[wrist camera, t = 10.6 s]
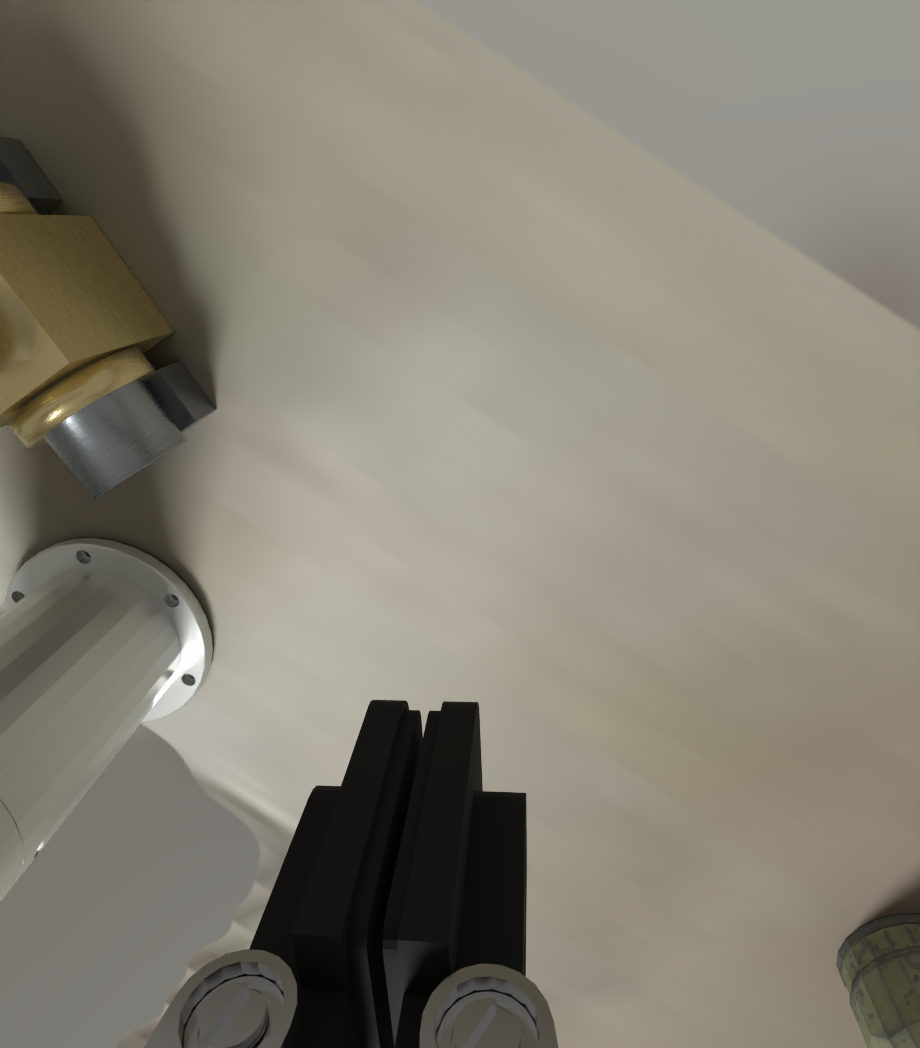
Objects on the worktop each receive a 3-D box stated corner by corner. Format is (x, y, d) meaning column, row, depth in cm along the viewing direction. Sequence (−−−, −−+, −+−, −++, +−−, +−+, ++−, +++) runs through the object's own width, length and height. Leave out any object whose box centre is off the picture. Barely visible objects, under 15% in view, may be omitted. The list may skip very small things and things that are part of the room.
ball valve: (143, 468, 39) (41, 533, 31) (-68, 201, 35) (-253, 193, 27) (233, 410, 38) (150, 461, 29) (23, 119, 33) (-146, 83, 25)
